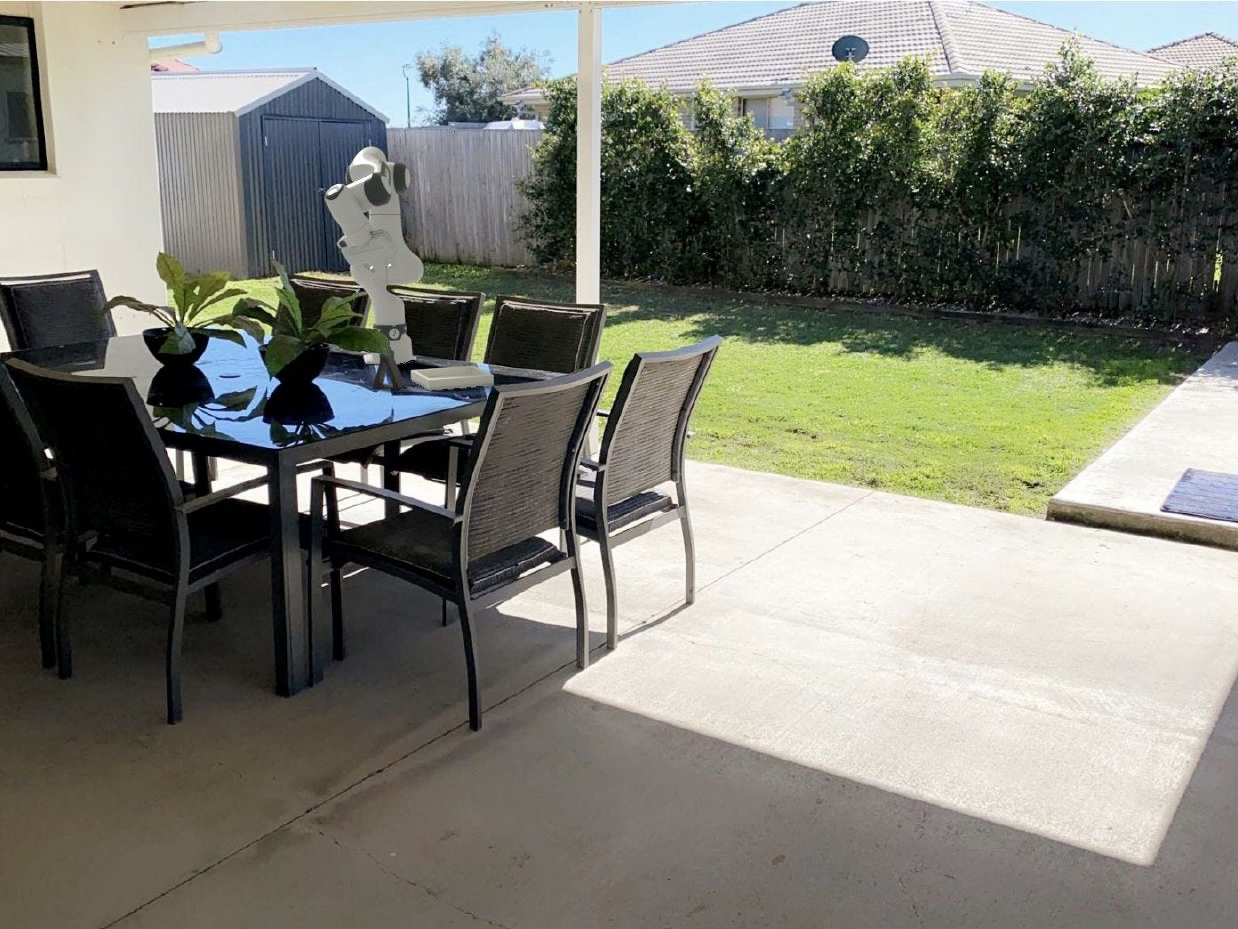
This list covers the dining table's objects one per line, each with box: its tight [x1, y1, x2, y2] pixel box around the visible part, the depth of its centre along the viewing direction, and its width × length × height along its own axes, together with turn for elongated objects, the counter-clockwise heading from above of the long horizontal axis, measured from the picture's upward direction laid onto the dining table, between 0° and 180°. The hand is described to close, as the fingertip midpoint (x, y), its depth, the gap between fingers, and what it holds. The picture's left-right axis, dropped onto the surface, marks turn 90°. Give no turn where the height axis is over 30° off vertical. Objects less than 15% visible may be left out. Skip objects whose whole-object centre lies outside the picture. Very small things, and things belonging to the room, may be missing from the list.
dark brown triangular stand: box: [371, 350, 405, 390], centre depth 376 cm, size 9×6×12 cm, turn 82°
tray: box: [410, 365, 495, 392], centre depth 384 cm, size 20×22×4 cm
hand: (383, 270), depth 370 cm, fingers open, 8 cm apart
